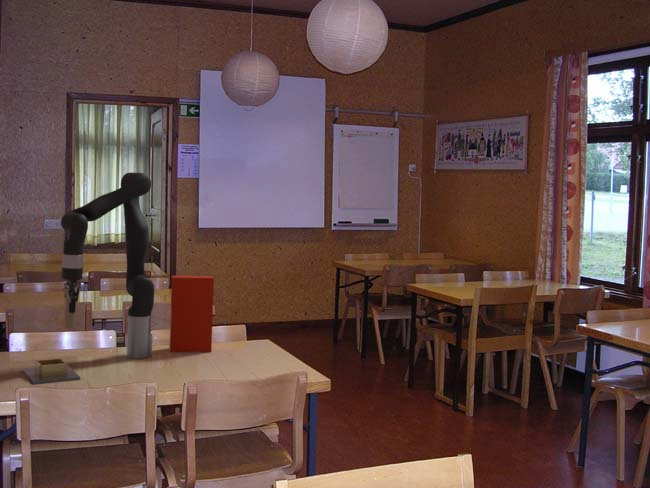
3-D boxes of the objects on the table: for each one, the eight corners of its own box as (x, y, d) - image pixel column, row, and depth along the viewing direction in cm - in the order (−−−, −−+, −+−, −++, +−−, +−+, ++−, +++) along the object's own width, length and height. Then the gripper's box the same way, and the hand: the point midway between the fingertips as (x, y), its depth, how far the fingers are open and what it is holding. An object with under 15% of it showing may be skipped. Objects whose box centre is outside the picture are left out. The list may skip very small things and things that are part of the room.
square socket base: (66, 366, 281) (66, 354, 280) (80, 379, 264) (80, 366, 264) (22, 370, 272) (22, 357, 271) (33, 384, 255) (33, 370, 255)
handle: (77, 329, 274) (79, 289, 273) (59, 328, 273) (61, 289, 272) (79, 326, 279) (81, 287, 278) (62, 326, 278) (63, 287, 277)
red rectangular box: (169, 348, 319) (171, 275, 316) (209, 347, 323) (212, 275, 320) (170, 352, 311) (172, 277, 308) (211, 352, 315) (213, 278, 312)
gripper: (87, 268, 271) (85, 314, 272) (78, 264, 283) (76, 308, 284) (66, 268, 267) (64, 315, 268) (57, 264, 278) (55, 308, 280)
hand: (70, 311), depth 276 cm, fingers closed on handle, 4 cm apart
